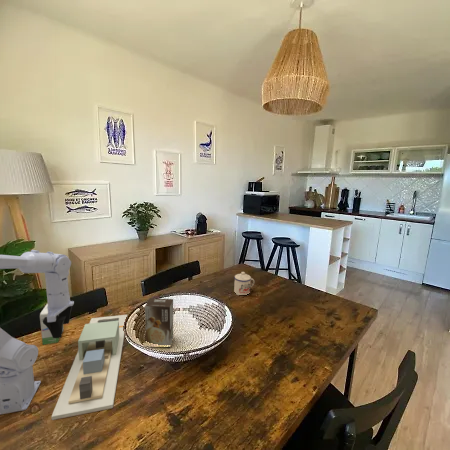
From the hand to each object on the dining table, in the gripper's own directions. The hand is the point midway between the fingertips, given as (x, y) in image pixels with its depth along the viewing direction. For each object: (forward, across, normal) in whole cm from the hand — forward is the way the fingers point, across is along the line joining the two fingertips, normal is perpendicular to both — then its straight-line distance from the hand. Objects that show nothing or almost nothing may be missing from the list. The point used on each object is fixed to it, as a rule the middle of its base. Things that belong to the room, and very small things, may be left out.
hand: (61, 330), depth 82 cm
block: (+8, -9, -11) cm, 16 cm away
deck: (+10, 0, -11) cm, 15 cm away
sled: (+9, -9, -11) cm, 17 cm away
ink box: (+11, +14, +7) cm, 19 cm away
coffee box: (+11, +2, -31) cm, 33 cm away
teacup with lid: (+12, +36, -77) cm, 85 cm away
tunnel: (+10, +2, -11) cm, 15 cm away
